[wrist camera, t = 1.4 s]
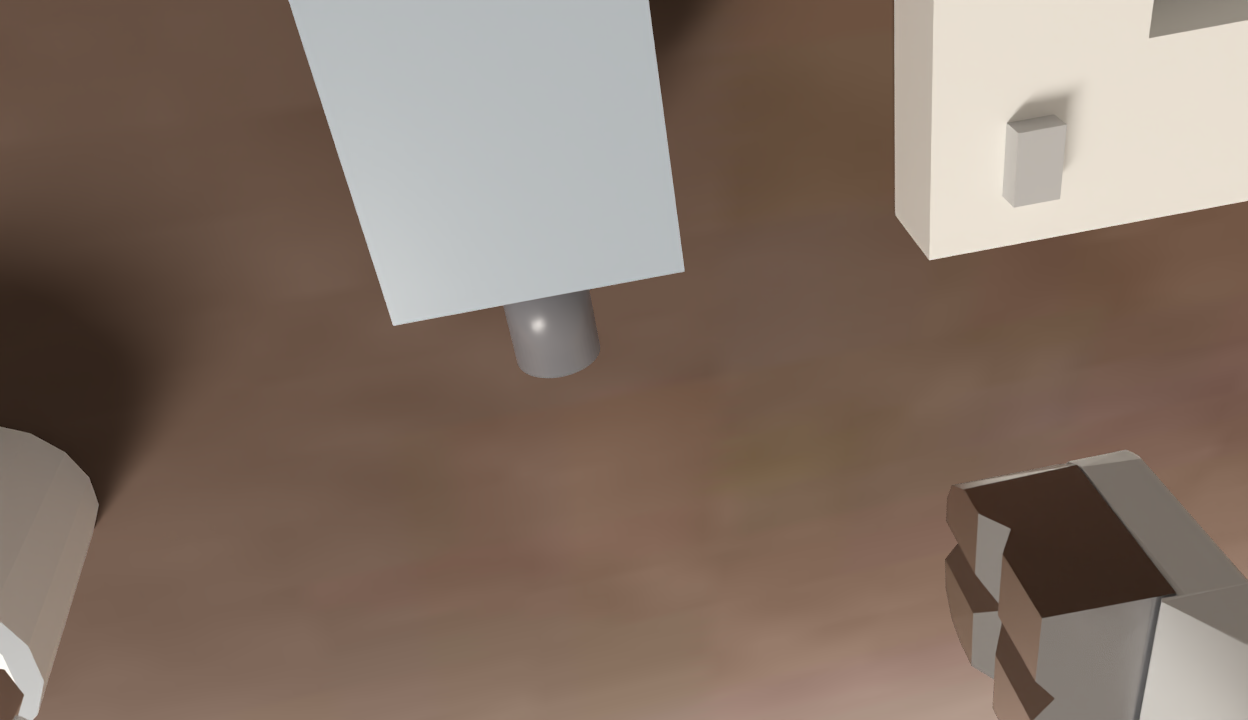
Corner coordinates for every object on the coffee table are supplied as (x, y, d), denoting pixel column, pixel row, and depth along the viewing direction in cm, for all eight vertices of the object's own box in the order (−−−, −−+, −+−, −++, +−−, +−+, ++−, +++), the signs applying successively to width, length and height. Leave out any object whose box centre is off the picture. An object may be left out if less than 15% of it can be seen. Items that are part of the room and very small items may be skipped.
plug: (322, -160, 23) (259, -92, 17) (586, -209, 24) (627, -160, 17) (442, 267, 30) (430, 440, 23) (651, 228, 30) (700, 389, 23)
